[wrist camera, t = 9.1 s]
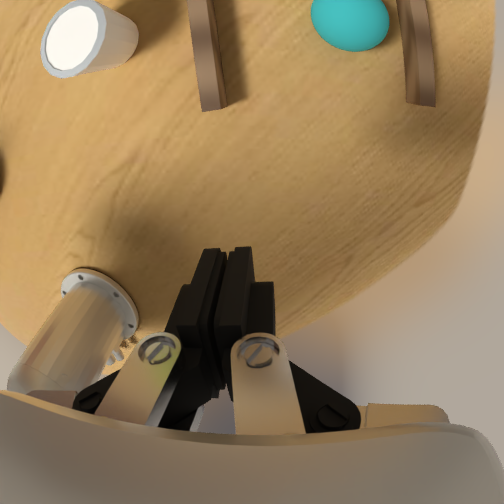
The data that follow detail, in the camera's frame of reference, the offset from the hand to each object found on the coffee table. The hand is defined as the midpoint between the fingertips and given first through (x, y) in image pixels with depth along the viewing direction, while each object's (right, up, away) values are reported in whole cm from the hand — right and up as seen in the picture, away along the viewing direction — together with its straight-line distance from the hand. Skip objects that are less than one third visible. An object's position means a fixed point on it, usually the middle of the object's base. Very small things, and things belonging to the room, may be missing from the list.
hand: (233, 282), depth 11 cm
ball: (+8, +19, +5) cm, 21 cm away
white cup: (-12, +21, +9) cm, 26 cm away
